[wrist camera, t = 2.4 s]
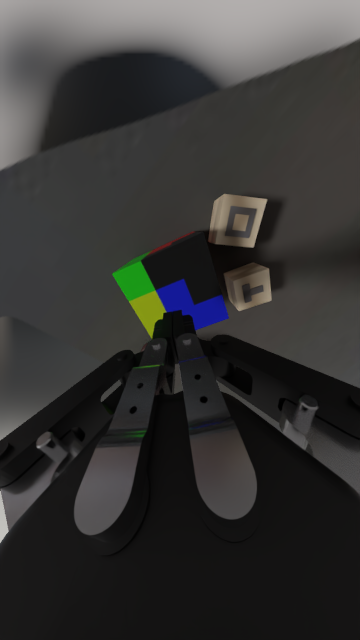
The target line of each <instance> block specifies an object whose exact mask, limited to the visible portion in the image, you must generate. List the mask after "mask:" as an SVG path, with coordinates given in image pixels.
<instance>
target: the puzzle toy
mask: <svg viewBox="0 0 360 640" xmlns="http://www.w3.org/2000/svg"><path fill="white" fill-rule="evenodd" d="M112 275H113V276H114V278H115V279H116V281H117V283H118V284H119V286H120V288H121V289H122V291H123V292H124V294H125V296H126V297H127V299H128V301H129V302H130V304H131V305H132V307H133V309H134V310H135V312H136V314H137V315H138V317H139V318H140V320H141V322H142V323H143V325H144V327H145V328H146V330H147V331H148V333H149V335H150V336H151V338H152V336H153V331H154V325H155V323H156V322H157V320H159V319H163V313H165V312H171V311H172V312H173V311H177V310H182V314H183V315H188V314H189V315H190V316H192V318H193V322H194V327H195V330H197V329H200V328H203V327H206V326H208V325H211V324H214V323H217V322H220V321H222V320H225V319H228V318H229V317H228V313H227V310H226V307H225V303H224V300H223V296H222V293H221V289H220V286H219V283H218V279H217V276H216V272H215V269H214V265H213V262H212V259H211V255H210V252H209V248H208V245H207V241H206V238H205V235H204V232H191V233H189V234H187V235H184V236H182V237H180V238H178V239H176V240H174V241H171V242H169V243H167V244H165V245H163V246H161V247H158V248H156V249H154V250H152V251H150V252H148V253H145V254H143V255H141V256H139V257H137V258H135V259H133V260H131V261H130V262H128V263H127V264H126V265H124V266H123V267H121V268H120V269H118V270H117V271H115V272H114V273H112Z"/></svg>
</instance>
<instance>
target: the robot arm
mask: <svg viewBox="0 0 360 640" xmlns="http://www.w3.org/2000/svg"><path fill="white" fill-rule="evenodd" d="M178 359H179V368H180V375H181V381H182V388H183V391H181V392H178V393H176V394H174V385H175V370H174V369H175V364H178ZM237 366H238V367H237ZM246 371H247V372H246ZM118 380H120V382H121V385H120V386H119V387H118V388H117V389H116V390H115V391H114V392H113V393H112V394H110V395H109V396H108V397H107V398H106V399H105V400H104V401H103V402H101V401H100V400H101V396H102V395H103V393H104V392H105V391H106V390H108V389H109V388H110V387H111V386H112V385H113V384H114V383H116V382H117V381H118ZM217 381H219V382H220V383H222V384H223V385H225V386H226V387H228V388H229V389H230V390H232V391H233V392H235V393H236V394H238V395H239V396H241V397H242V398H244V399H245V400H247V401H248V402H249V403H251V404H252V405H254V406H255V407H257V408H258V409H260V410H261V411H263V412H264V413H266V414H267V415H268V416H270V417H271V418H273V419H274V420H276V421H277V422H279V425H280V429H281V431H282V433H281V432H280V431H279V430H277V429H276V428H275V427H273V426H272V425H271V424H269V423H268V422H267V421H265V420H264V419H263V418H261V417H260V416H259V415H258V414H256V413H255V412H254V411H252V410H251V409H250V408H248V407H247V406H246V405H244V404H243V403H242V402H240V401H239V400H238V399H236V398H234V397H233V396H231V395H229V394H227V393H224V392H221V391H220V388H219V385H218V383H217ZM0 491H1V494H2V499H3V504H4V509H5V514H6V519H7V524H8V529H9V532H8V533H7V534H6V536H5V537H4V539H3V540H2V542H1V543H0V640H360V388H358V387H355V386H353V385H350V384H348V383H345V382H343V381H340V380H338V379H335V378H333V377H331V376H328V375H326V374H323V373H321V372H318V371H316V370H313V369H311V368H308V367H306V366H303V365H301V364H298V363H296V362H294V361H291V360H289V359H286V358H284V357H281V356H279V355H276V354H274V353H271V352H269V351H266V350H264V349H262V348H259V347H257V346H254V345H252V344H249V343H247V342H244V341H242V340H239V339H237V338H234V337H232V336H229V335H217V336H215V337H213V338H212V340H211V341H204V340H201V339H199V338H198V337H197V335H196V331H195V327H194V322H193V318H192V316H190V315H189V314H188V315H183V314H182V310H177V311H173V312H172V311H171V312H165V313H163V319H159V320H157V322H156V323H155V325H154V331H153V336H152V340H151V341H150V342H148V343H147V345H146V347H145V350H144V351H142V352H139V353H137V354H134V353H133V352H132V351H131V350H123V351H120V352H118V353H117V354H115V355H114V356H113V357H111V358H110V359H109V360H107V361H106V362H105V363H103V364H102V365H101V366H99V367H98V368H97V369H95V370H94V371H93V372H91V373H90V374H89V375H87V376H86V377H85V378H83V379H82V380H81V381H79V382H78V383H77V384H75V385H74V386H73V387H71V388H70V389H69V390H67V391H66V392H65V393H63V394H62V395H61V396H59V397H58V398H57V399H55V400H54V401H53V402H51V403H50V404H49V405H48V406H46V407H45V408H43V409H42V410H41V411H39V412H38V413H37V414H35V415H34V416H33V417H31V418H30V419H29V420H27V421H26V422H25V423H23V424H22V425H21V426H19V427H18V428H17V429H15V430H14V431H13V432H11V433H10V434H9V435H7V436H6V437H5V438H3V439H2V440H1V441H0Z"/></svg>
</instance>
